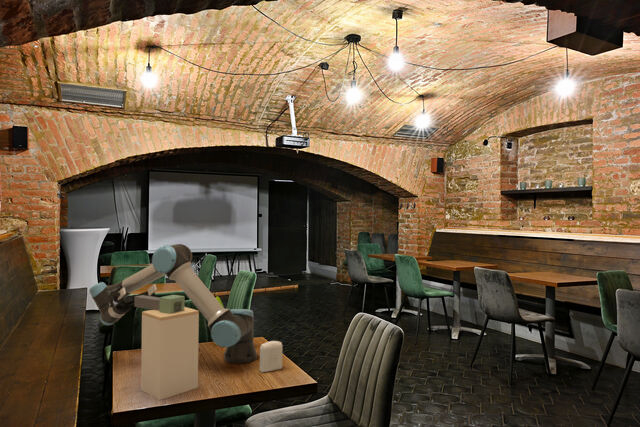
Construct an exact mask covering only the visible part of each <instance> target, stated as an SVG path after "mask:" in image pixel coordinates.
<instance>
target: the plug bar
mask: <svg viewBox="0 0 640 427" xmlns="http://www.w3.org/2000/svg"><path fill="white" fill-rule="evenodd" d="M133 298H134V297H133ZM185 298H186V297H185V295H177V294H170V295H165V296H161V297H158V296H153V297H152V296H145V295H141V296H135V298H134V304H133V305H134V307H136V308H141V309H148V310H158V311H159V312H163V313H169V314H172V313H176V312H180V311H184V307H185V301H186V300H185Z"/></svg>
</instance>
